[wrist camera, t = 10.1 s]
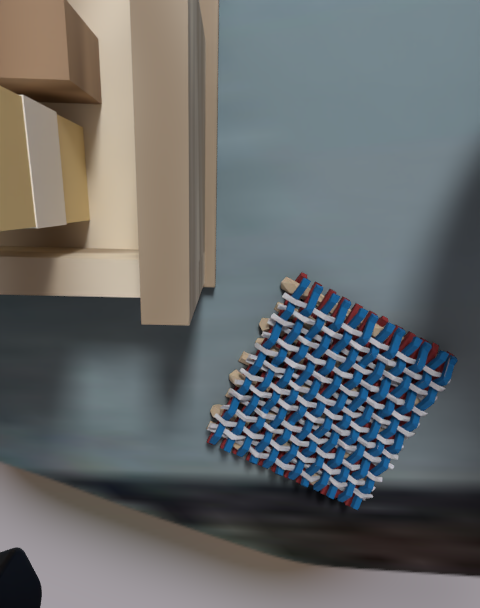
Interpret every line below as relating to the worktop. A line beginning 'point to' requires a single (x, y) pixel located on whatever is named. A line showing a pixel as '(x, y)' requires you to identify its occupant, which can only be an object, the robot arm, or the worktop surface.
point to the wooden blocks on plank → (122, 148)
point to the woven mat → (329, 393)
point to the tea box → (40, 166)
